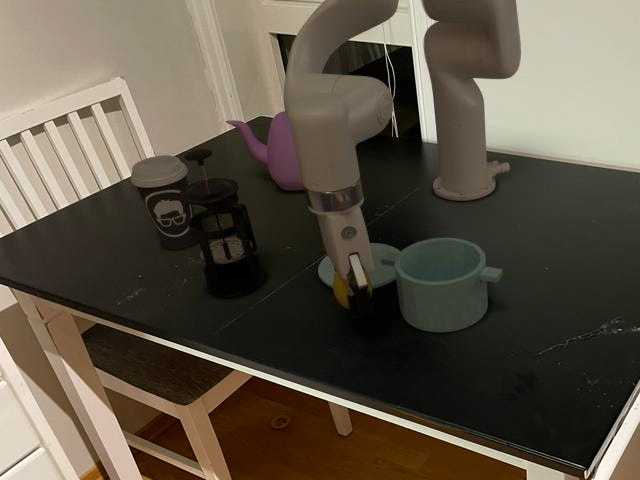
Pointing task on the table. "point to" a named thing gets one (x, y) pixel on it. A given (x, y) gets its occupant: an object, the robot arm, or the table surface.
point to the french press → (223, 233)
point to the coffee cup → (165, 198)
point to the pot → (442, 283)
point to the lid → (378, 278)
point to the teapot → (275, 151)
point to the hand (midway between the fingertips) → (355, 303)
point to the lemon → (342, 290)
